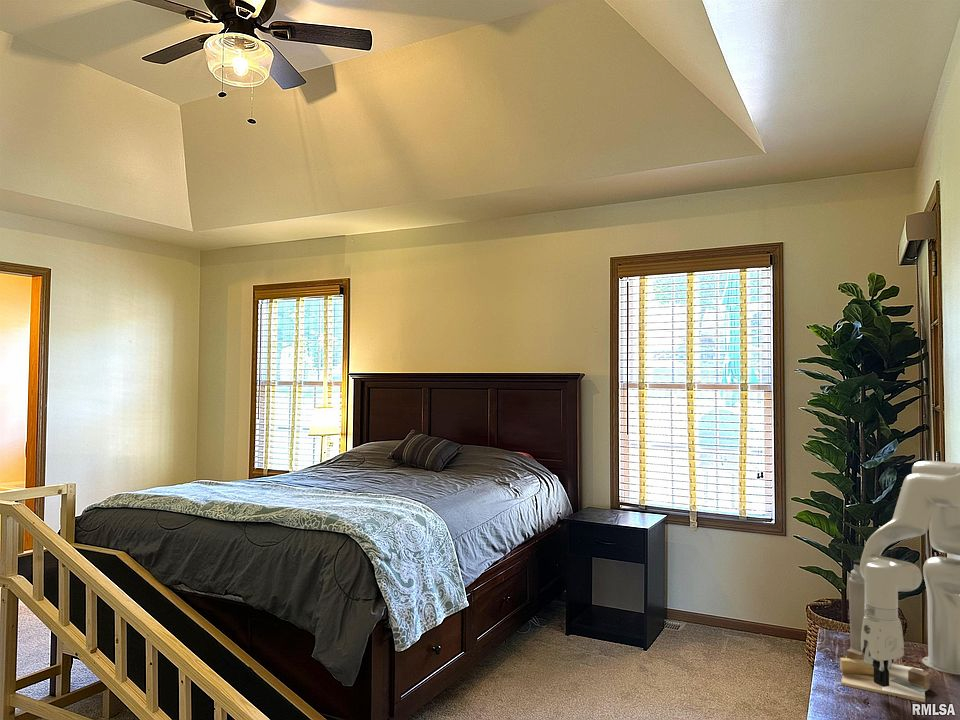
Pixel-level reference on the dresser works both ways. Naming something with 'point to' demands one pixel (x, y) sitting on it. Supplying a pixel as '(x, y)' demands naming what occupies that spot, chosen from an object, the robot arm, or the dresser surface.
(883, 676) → the robot arm
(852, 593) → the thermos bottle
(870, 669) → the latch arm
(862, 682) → the door board
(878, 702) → the dresser surface
